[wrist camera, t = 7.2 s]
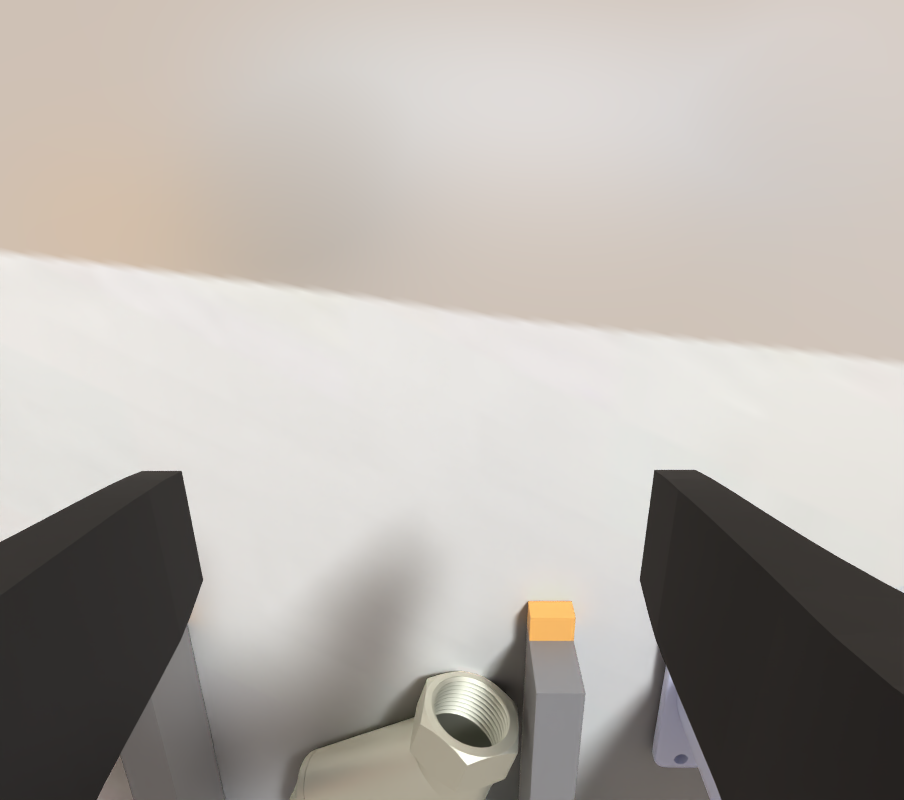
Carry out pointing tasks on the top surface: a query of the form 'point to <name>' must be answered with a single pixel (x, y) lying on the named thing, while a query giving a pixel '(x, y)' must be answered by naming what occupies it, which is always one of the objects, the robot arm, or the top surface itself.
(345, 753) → the pipe fitting
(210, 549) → the top surface
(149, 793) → the bracket
